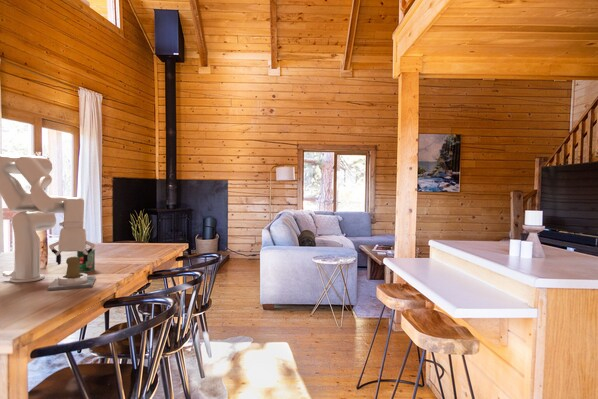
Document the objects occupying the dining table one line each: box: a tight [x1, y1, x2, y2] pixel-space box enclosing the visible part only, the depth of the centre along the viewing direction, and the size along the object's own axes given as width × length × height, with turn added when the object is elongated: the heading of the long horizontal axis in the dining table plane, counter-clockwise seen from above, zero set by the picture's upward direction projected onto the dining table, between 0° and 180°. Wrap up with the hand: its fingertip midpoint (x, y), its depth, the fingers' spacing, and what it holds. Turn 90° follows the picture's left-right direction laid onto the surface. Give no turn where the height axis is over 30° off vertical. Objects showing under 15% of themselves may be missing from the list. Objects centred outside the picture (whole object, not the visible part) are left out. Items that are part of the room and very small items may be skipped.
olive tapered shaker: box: [65, 256, 81, 278], centre depth 158 cm, size 6×6×11 cm
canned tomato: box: [76, 247, 96, 273], centre depth 184 cm, size 8×8×11 cm
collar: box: [46, 272, 96, 291], centre depth 158 cm, size 16×16×4 cm
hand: (72, 263), depth 158 cm, fingers open, 9 cm apart
